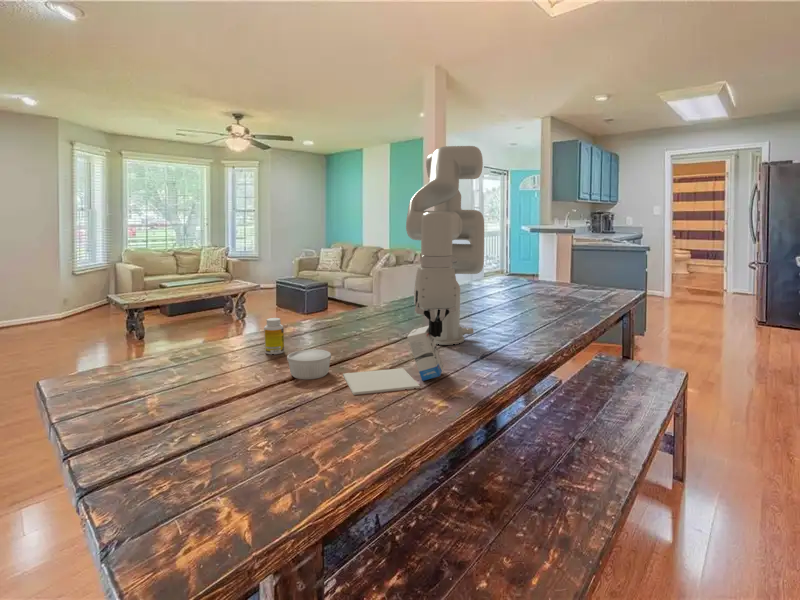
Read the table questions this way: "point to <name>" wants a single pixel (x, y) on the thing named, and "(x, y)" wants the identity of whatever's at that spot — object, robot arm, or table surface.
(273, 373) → the table surface
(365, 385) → the rubber mat
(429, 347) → the ink box
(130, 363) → the table surface
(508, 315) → the table surface
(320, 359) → the ramekin
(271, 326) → the supplement bottle
